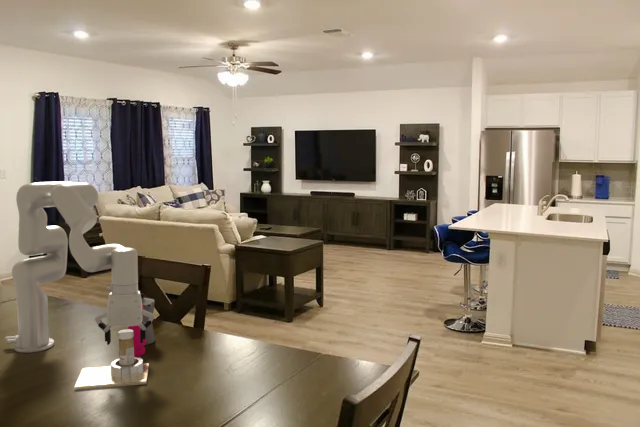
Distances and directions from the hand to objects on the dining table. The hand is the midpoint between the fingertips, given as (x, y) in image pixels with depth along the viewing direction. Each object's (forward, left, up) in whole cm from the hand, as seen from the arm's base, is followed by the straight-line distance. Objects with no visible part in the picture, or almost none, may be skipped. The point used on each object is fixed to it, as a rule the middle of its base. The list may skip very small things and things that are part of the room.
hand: (125, 342), depth 168 cm
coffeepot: (+2, +32, -11) cm, 34 cm away
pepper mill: (+1, +19, -11) cm, 22 cm away
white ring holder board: (-4, 0, -11) cm, 11 cm away
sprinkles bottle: (0, 0, -10) cm, 10 cm away
